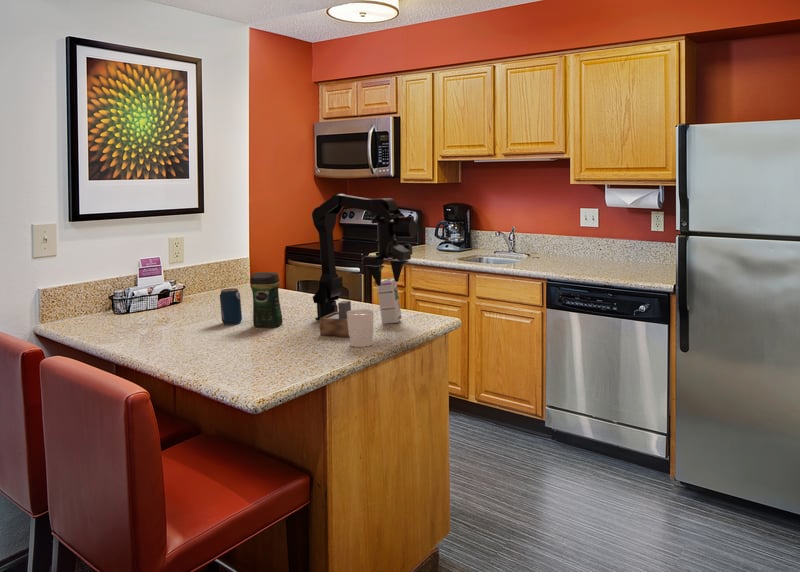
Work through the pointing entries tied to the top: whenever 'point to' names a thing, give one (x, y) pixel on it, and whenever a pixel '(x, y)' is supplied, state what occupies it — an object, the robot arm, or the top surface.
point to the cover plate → (342, 310)
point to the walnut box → (333, 326)
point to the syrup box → (389, 301)
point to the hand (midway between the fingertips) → (387, 283)
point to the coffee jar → (266, 299)
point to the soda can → (230, 306)
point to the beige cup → (360, 327)
